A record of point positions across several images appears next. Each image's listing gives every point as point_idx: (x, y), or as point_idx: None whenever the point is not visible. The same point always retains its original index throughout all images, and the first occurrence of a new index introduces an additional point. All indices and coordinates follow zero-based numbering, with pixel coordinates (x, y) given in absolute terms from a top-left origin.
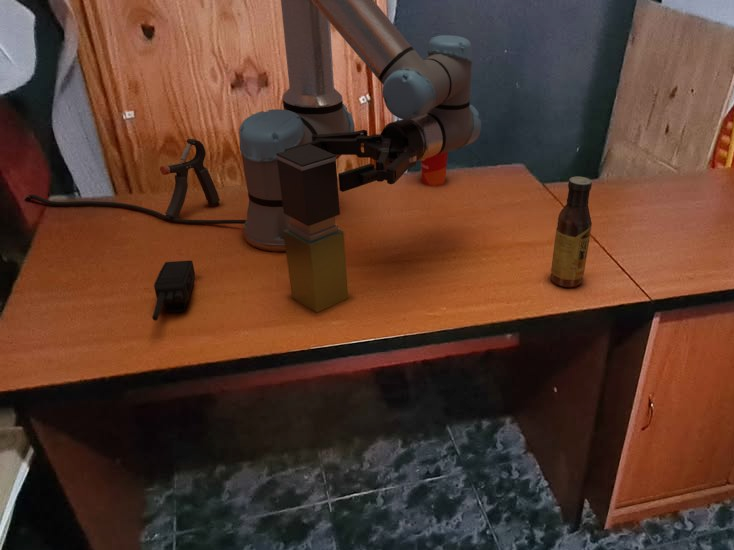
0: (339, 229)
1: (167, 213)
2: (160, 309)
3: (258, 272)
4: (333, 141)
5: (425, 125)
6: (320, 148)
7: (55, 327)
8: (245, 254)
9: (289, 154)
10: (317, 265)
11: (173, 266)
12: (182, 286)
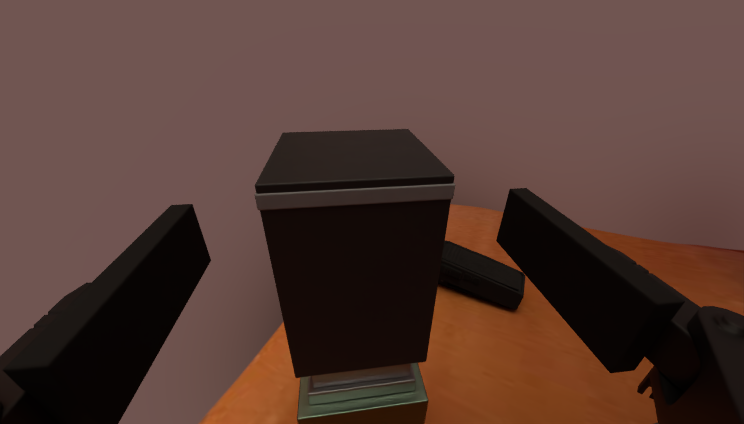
0: (318, 416)
1: None
2: None
3: (508, 393)
4: (738, 416)
5: None
6: (633, 334)
7: (451, 219)
8: (594, 407)
9: (380, 136)
10: None
11: (499, 270)
12: None
